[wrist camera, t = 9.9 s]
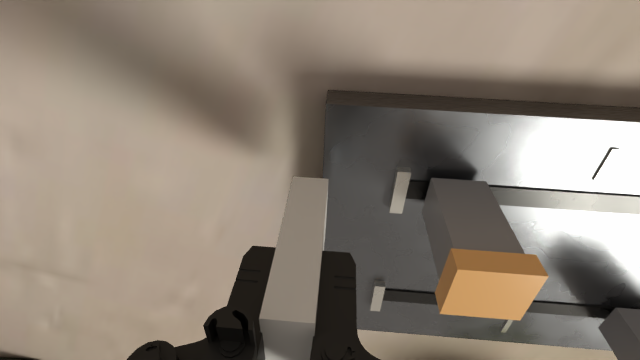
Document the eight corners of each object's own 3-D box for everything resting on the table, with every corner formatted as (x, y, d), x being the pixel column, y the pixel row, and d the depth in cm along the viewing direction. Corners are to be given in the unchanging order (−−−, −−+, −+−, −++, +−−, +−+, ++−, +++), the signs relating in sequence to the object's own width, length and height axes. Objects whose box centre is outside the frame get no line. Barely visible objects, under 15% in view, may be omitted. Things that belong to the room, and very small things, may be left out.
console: (317, 306, 25) (315, 331, 23) (327, 90, 15) (325, 108, 14) (667, 335, 24) (689, 363, 22) (907, 123, 14) (974, 146, 13)
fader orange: (416, 214, 17) (439, 313, 12) (427, 173, 15) (457, 269, 11) (475, 219, 16) (519, 320, 12) (492, 177, 15) (548, 276, 11)
